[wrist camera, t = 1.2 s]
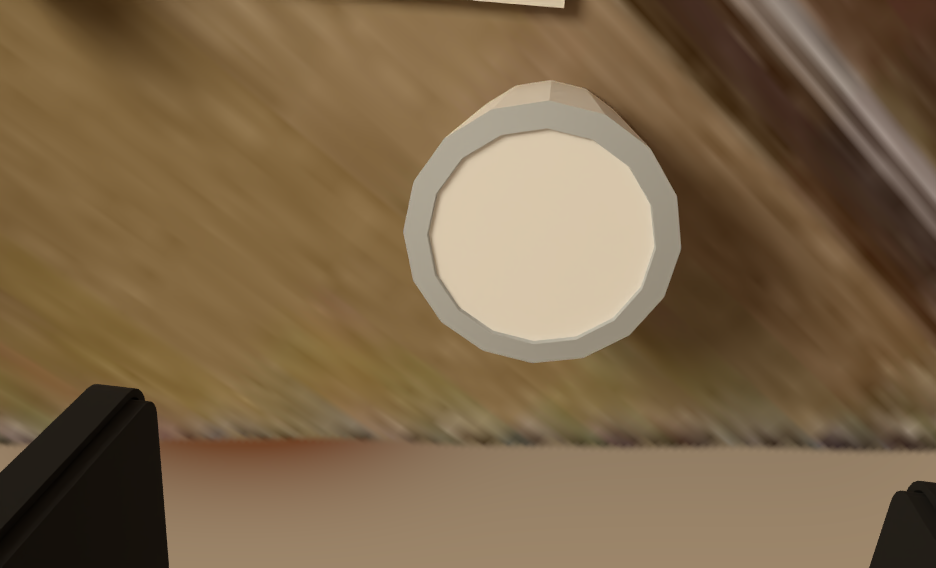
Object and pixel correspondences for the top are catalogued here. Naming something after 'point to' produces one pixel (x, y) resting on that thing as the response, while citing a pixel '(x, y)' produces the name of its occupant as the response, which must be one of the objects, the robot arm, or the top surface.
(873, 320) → the top surface
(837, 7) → the top surface
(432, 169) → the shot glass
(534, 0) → the arena
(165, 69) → the top surface
